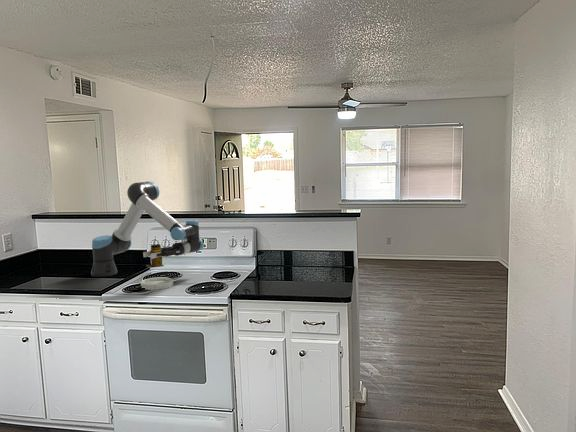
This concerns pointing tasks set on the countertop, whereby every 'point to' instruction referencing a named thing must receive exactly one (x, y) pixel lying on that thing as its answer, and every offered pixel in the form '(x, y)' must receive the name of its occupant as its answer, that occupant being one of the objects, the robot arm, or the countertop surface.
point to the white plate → (157, 283)
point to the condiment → (157, 261)
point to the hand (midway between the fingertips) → (147, 255)
